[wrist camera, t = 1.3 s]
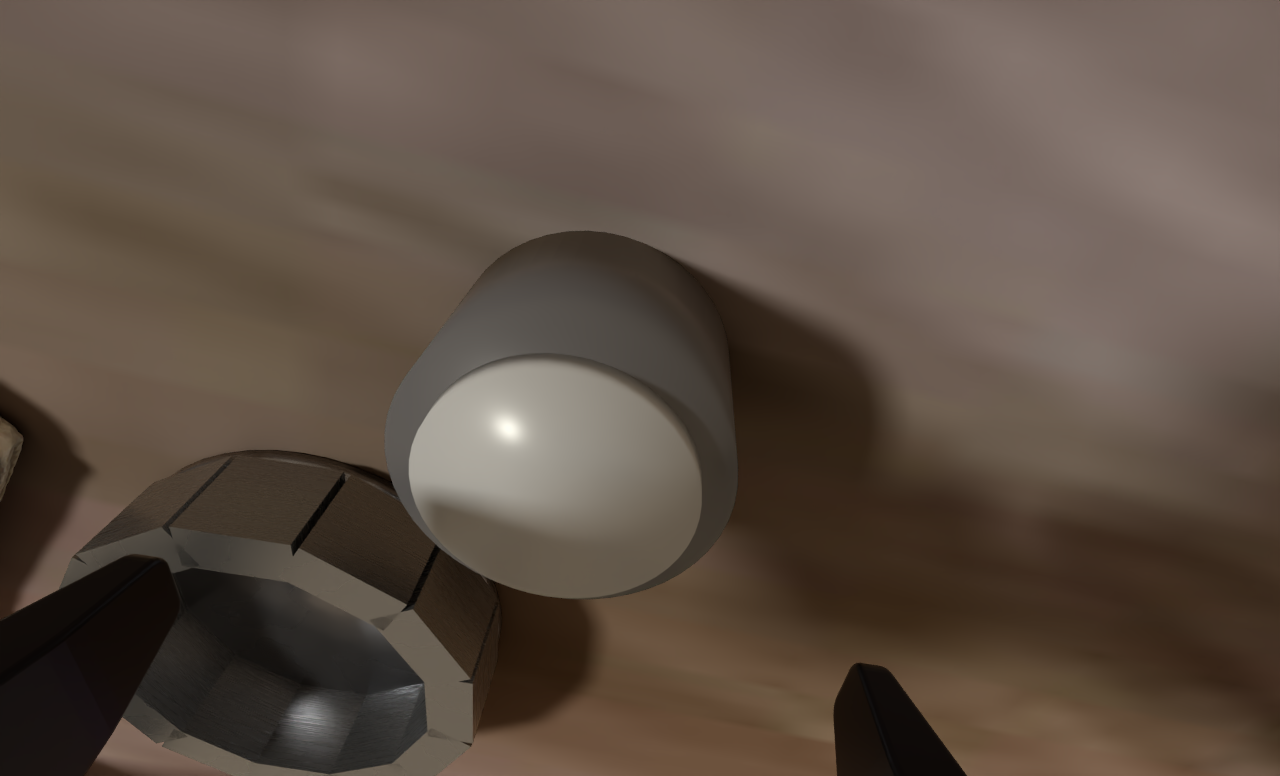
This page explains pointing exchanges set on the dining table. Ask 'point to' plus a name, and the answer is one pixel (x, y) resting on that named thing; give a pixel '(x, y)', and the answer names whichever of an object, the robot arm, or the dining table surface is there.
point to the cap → (571, 421)
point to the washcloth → (8, 452)
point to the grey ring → (304, 622)
